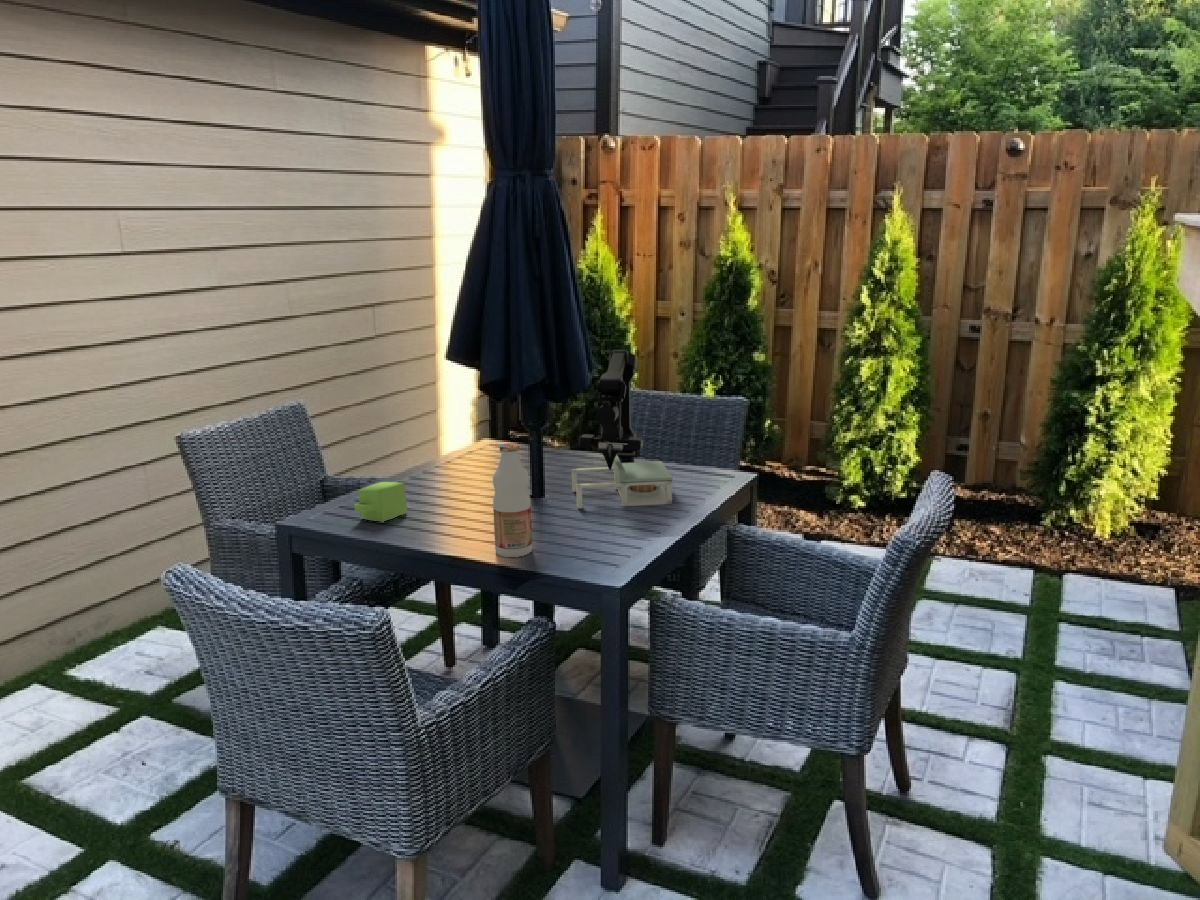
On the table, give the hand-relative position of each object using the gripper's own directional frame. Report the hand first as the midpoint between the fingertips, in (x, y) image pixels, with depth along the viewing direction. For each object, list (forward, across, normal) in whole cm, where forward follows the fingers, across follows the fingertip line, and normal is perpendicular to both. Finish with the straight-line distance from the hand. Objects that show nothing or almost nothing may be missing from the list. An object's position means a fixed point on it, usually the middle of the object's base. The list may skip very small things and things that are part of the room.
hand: (610, 470), depth 286 cm
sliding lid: (+1, -9, -3) cm, 9 cm away
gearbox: (+11, +62, +25) cm, 68 cm away
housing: (+9, -3, -1) cm, 9 cm away
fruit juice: (+10, +16, +50) cm, 54 cm away
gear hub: (+7, -10, -3) cm, 13 cm away
